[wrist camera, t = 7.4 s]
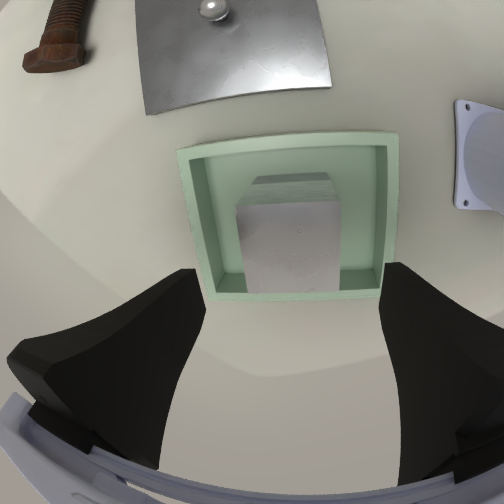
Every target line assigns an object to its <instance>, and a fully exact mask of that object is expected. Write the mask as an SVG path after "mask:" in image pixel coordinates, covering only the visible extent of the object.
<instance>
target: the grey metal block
mask: <svg viewBox="0 0 504 504" xmlns="http://www.w3.org/2000/svg"><path fill="white" fill-rule="evenodd" d="M234 209H235V215H236V222H237V228H238V234H239V241H240V247H241V253H242V260H243V266H244V272H245V278H246V284H247V290H248V294H263V293H311V292H338V291H339V283H340V254H341V201H340V199H339V197H338V195H337V193H336V190H335V188H334V186H333V184H332V182H331V180H330V178H329V176H328V174H327V172H316V173H296V174H281V175H268V176H257V177H256V178H255V180H254V181H253V182H252V184H251V185H250V186H249V188H248V189H247V190H246V192H245V193H244V194H243V196H242V197H241V198H240V200H239V201H238V202H237V204H236V205H235V206H234Z"/></svg>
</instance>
